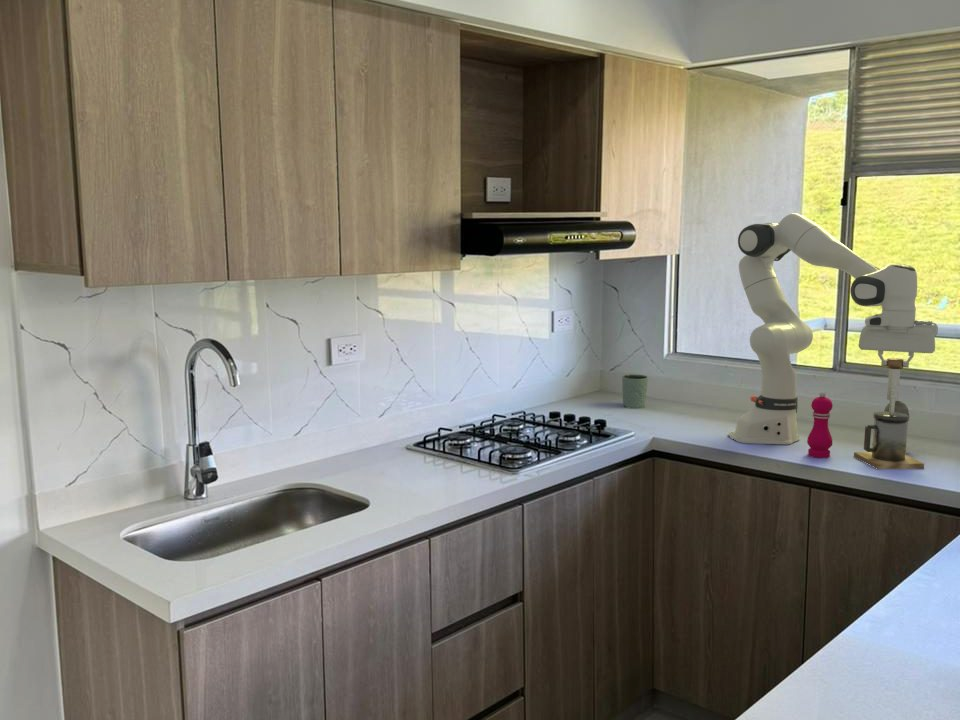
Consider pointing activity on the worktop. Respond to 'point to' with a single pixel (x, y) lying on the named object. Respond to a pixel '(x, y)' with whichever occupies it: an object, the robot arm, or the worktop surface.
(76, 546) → the worktop surface
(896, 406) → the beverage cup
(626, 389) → the green cup
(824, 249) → the robot arm
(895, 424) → the press
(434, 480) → the worktop surface
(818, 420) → the pepper mill
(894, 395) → the plunger
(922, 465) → the plate
